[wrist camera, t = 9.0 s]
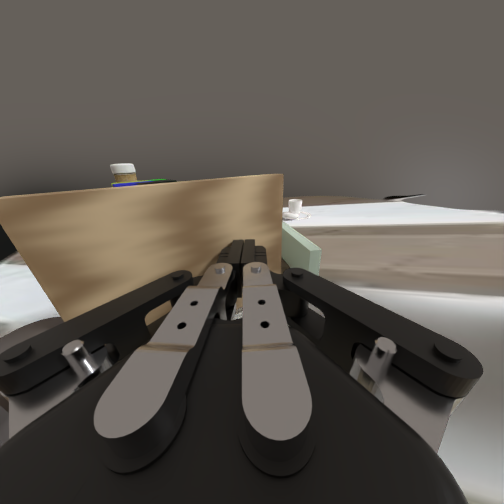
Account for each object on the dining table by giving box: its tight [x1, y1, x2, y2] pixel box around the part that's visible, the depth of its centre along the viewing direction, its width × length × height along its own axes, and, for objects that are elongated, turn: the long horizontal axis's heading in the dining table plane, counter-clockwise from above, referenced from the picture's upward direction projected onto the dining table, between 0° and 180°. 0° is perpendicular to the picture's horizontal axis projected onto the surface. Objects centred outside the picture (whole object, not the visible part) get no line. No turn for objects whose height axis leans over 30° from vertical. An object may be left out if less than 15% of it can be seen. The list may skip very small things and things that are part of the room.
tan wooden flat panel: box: [0, 174, 283, 413], centre depth 12 cm, size 18×4×10 cm, turn 120°
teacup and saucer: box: [282, 199, 312, 220], centre depth 46 cm, size 9×8×4 cm
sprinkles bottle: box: [110, 164, 137, 183], centre depth 45 cm, size 5×5×14 cm
